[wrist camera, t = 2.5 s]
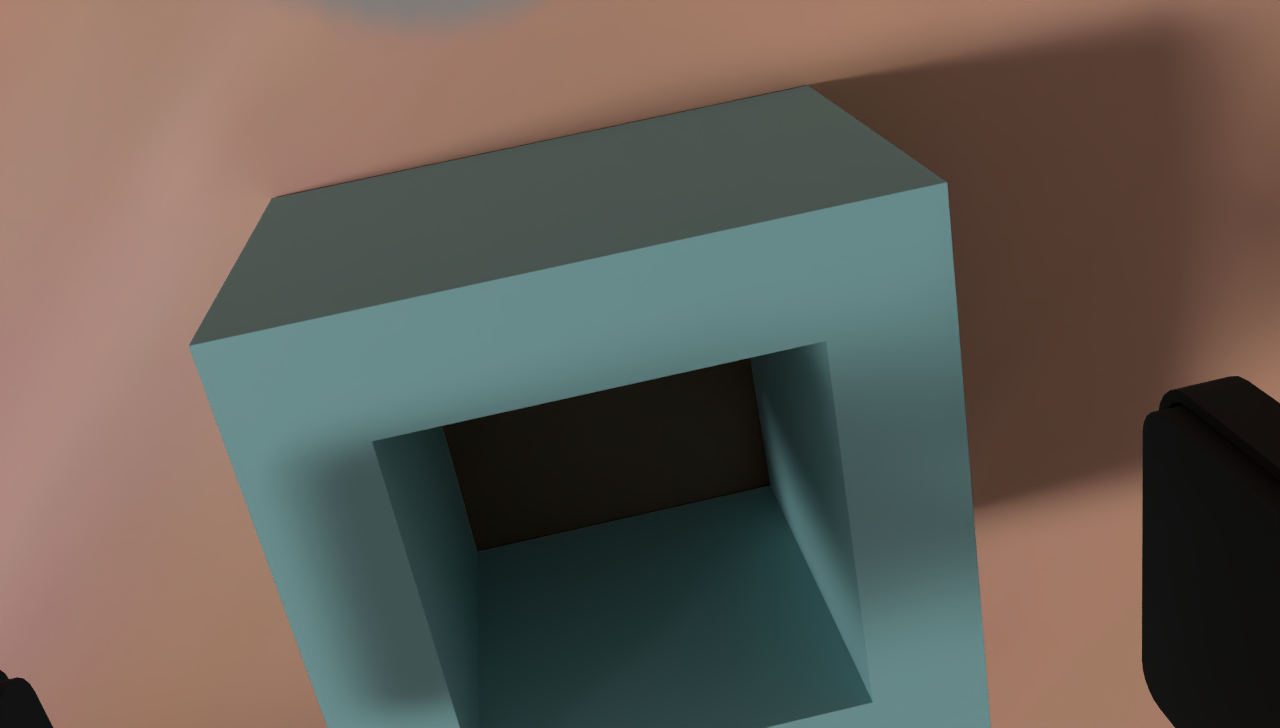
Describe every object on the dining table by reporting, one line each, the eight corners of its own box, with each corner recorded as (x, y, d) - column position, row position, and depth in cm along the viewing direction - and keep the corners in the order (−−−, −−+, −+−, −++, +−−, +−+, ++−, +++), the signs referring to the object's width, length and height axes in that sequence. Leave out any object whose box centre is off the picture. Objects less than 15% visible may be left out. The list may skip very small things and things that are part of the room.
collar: (808, 85, 16) (947, 182, 11) (864, 539, 19) (994, 765, 14) (271, 198, 15) (188, 346, 11) (413, 643, 18) (394, 908, 14)
